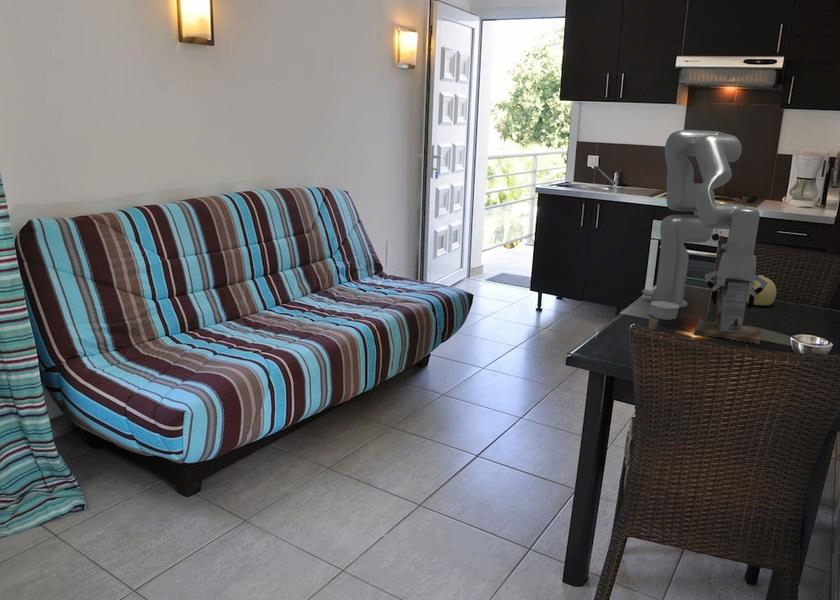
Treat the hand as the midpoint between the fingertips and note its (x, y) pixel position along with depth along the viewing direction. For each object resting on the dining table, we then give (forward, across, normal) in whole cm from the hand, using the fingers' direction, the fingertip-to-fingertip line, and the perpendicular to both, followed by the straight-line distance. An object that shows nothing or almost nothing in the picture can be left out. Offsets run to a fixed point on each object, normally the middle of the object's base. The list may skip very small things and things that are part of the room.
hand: (731, 305), depth 210 cm
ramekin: (+9, -20, +10) cm, 24 cm away
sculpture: (+9, +7, +49) cm, 50 cm away
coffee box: (+8, 0, 0) cm, 8 cm away
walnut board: (+9, 0, 0) cm, 9 cm away
